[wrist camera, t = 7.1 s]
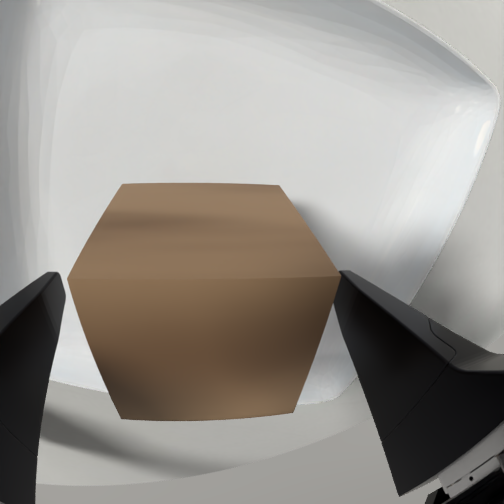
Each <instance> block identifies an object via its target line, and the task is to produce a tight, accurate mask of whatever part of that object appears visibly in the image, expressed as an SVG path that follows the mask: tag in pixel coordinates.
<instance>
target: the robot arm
mask: <svg viewBox="0 0 504 504" xmlns="http://www.w3.org/2000/svg"><path fill="white" fill-rule="evenodd" d="M338 272H339V273H340V275H341V279H340V282H339V285H338V289H337V292H336V295H335V298H334V302H333V305H334V308H335V312H336V315H337V319H338V323H339V326H340V330H341V333H342V336H343V339H344V341H345V344H346V346H347V349H348V352H349V354H350V357H351V359H352V362H353V365H354V367H355V370H356V372H357V375H358V378H359V380H360V383H361V386H362V389H363V391H364V394H365V397H366V399H367V402H368V405H369V408H370V411H371V413H372V416H373V419H374V422H375V425H376V428H377V430H378V434H379V436H380V439H381V441H382V446H383V448H384V452H385V455H386V458H387V461H388V464H389V467H390V470H391V473H392V477H393V480H394V483H395V486H396V489H397V493H398V495H399V497H400V496H402V495H405V494H407V493H409V492H411V491H413V490H415V489H418V488H420V487H422V486H424V485H426V484H428V483H430V482H431V481H433V480H435V479H437V478H439V480H440V483H441V485H442V487H441V488H439V489H437V490H436V491H434V492H432V493H431V494H429V495H428V497H427V499H426V502H425V504H504V354H496V353H492V352H489V351H487V350H485V349H483V348H481V347H480V346H478V345H476V344H474V343H472V342H470V341H468V340H467V339H465V338H463V337H461V336H459V335H457V334H456V333H454V332H452V331H450V330H449V329H447V328H445V327H444V326H442V325H440V324H439V323H437V322H435V321H434V320H432V319H430V318H428V317H427V316H425V315H424V314H422V313H421V312H419V311H417V310H416V309H414V308H412V307H411V306H409V305H407V304H406V303H404V302H403V301H401V300H399V299H398V298H396V297H394V296H393V295H391V294H389V293H388V292H386V291H384V290H383V289H381V288H379V287H377V286H376V285H374V284H372V283H371V282H369V281H367V280H366V279H364V278H362V277H361V276H359V275H357V274H355V273H354V272H352V271H350V270H339V271H338ZM65 301H66V293H65V289H64V286H63V282H62V279H61V275H60V273H59V272H46V273H45V274H43V275H42V276H40V277H39V278H37V279H36V280H35V281H33V282H32V283H30V284H29V285H27V286H26V287H25V288H23V289H22V290H20V291H19V292H18V293H16V294H15V295H13V296H12V297H11V298H9V299H8V300H7V301H5V302H4V303H3V304H1V305H0V504H35V489H36V471H37V456H38V446H39V438H40V430H41V423H42V416H43V410H44V404H45V398H46V393H47V388H48V383H49V378H50V373H51V369H52V365H53V360H54V356H55V352H56V348H57V344H58V340H59V335H60V329H61V323H62V317H63V311H64V306H65Z"/></svg>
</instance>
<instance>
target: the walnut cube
mask: <svg viewBox="0 0 504 504" xmlns="http://www.w3.org/2000/svg"><path fill="white" fill-rule="evenodd" d="M340 279H341V275H340V273H339V272H338V270H337V269H336V267H335V265H334V264H333V262H332V261H331V259H330V258H329V256H328V255H327V253H326V252H325V250H324V249H323V247H322V246H321V244H320V243H319V241H318V240H317V238H316V237H315V236H314V234H313V233H312V231H311V230H310V228H309V227H308V225H307V224H306V222H305V221H304V219H303V218H302V217H301V215H300V214H299V212H298V211H297V209H296V208H295V207H294V205H293V204H292V202H291V201H290V200H289V198H288V197H287V195H286V194H285V193H284V191H283V190H282V188H281V187H280V186H279V185H266V184H238V183H131V184H122V185H121V186H120V188H119V189H118V191H117V192H116V194H115V195H114V197H113V199H112V200H111V202H110V203H109V205H108V207H107V208H106V210H105V211H104V213H103V215H102V216H101V218H100V220H99V221H98V223H97V225H96V226H95V228H94V230H93V231H92V233H91V235H90V237H89V238H88V240H87V242H86V244H85V245H84V247H83V249H82V251H81V253H80V254H79V256H78V258H77V260H76V262H75V264H74V266H73V268H72V269H71V271H70V273H69V275H68V277H67V281H68V285H69V288H70V292H71V295H72V298H73V301H74V305H75V308H76V311H77V314H78V317H79V320H80V323H81V326H82V329H83V331H84V334H85V337H86V340H87V342H88V345H89V348H90V350H91V353H92V355H93V358H94V360H95V363H96V365H97V367H98V370H99V372H100V375H101V377H102V379H103V381H104V384H105V386H106V388H107V390H108V392H109V395H110V397H111V399H112V401H113V403H114V405H115V407H116V409H117V411H118V413H119V415H120V417H121V419H129V420H149V421H205V420H226V419H241V418H253V417H263V416H272V415H280V414H288V413H293V412H294V409H295V407H296V405H297V402H298V400H299V397H300V395H301V392H302V390H303V387H304V384H305V382H306V379H307V377H308V374H309V371H310V369H311V366H312V363H313V360H314V358H315V355H316V352H317V349H318V346H319V344H320V341H321V338H322V335H323V332H324V329H325V326H326V323H327V320H328V317H329V314H330V311H331V308H332V305H333V302H334V298H335V295H336V292H337V289H338V285H339V282H340Z"/></svg>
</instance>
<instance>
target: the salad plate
mask: <svg viewBox="0 0 504 504" xmlns="http://www.w3.org/2000/svg"><path fill="white" fill-rule="evenodd" d="M500 106H501V97H500V93H499V90H498V89H497V87H496V85H495V84H494V83H493V82H492V81H491V80H490V79H489V78H488V77H487V76H486V75H485V74H484V73H483V72H482V71H481V70H480V69H479V68H478V67H476V66H475V65H474V64H473V63H472V62H471V61H470V60H469V59H467V58H466V57H465V56H464V55H462V54H461V53H460V52H459V51H457V50H456V49H455V48H454V47H452V46H451V45H450V44H448V43H447V42H446V41H444V40H443V39H441V38H440V37H439V36H437V35H436V34H434V33H433V32H432V31H430V30H429V29H427V28H426V27H424V26H423V25H421V24H420V23H418V22H417V21H415V20H413V19H412V18H410V17H409V16H407V15H405V14H404V13H402V12H400V11H399V10H397V9H395V8H394V7H392V6H390V5H388V4H387V3H385V2H383V1H381V0H0V305H1V304H3V303H4V302H5V301H7V300H8V299H9V298H11V297H12V296H13V295H15V294H16V293H18V292H19V291H20V290H22V289H23V288H25V287H26V286H27V285H29V284H30V283H32V282H33V281H35V280H36V279H37V278H39V277H40V276H42V275H43V274H45V273H46V272H59V273H60V275H61V279H62V282H63V286H64V289H65V293H66V301H65V306H64V311H63V317H62V323H61V329H60V335H59V340H58V344H57V348H56V352H55V356H54V360H53V365H52V369H51V373H50V378H49V380H52V381H56V382H60V383H64V384H68V385H72V386H77V387H81V388H86V389H90V390H95V391H100V392H106V393H109V392H108V390H107V388H106V386H105V384H104V381H103V379H102V377H101V375H100V372H99V370H98V367H97V365H96V363H95V360H94V358H93V355H92V353H91V350H90V348H89V345H88V342H87V340H86V337H85V334H84V331H83V329H82V326H81V323H80V320H79V317H78V314H77V311H76V308H75V305H74V301H73V298H72V295H71V292H70V288H69V285H68V281H67V277H68V275H69V273H70V271H71V269H72V268H73V266H74V264H75V262H76V260H77V258H78V256H79V254H80V253H81V251H82V249H83V247H84V245H85V244H86V242H87V240H88V238H89V237H90V235H91V233H92V231H93V230H94V228H95V226H96V225H97V223H98V221H99V220H100V218H101V216H102V215H103V213H104V211H105V210H106V208H107V207H108V205H109V203H110V202H111V200H112V199H113V197H114V195H115V194H116V192H117V191H118V189H119V188H120V186H121V185H122V184H131V183H238V184H266V185H279V186H280V187H281V188H282V190H283V191H284V193H285V194H286V195H287V197H288V198H289V200H290V201H291V202H292V204H293V205H294V207H295V208H296V209H297V211H298V212H299V214H300V215H301V217H302V218H303V219H304V221H305V222H306V224H307V225H308V227H309V228H310V230H311V231H312V233H313V234H314V236H315V237H316V238H317V240H318V241H319V243H320V244H321V246H322V247H323V249H324V250H325V252H326V253H327V255H328V256H329V258H330V259H331V261H332V262H333V264H334V265H335V267H336V269H337V270H338V271H339V270H350V271H352V272H354V273H355V274H357V275H359V276H361V277H362V278H364V279H366V280H367V281H369V282H371V283H372V284H374V285H376V286H377V287H379V288H381V289H383V290H384V291H386V292H388V293H389V294H391V295H393V296H394V297H396V298H398V299H399V300H401V301H403V302H404V303H406V304H407V305H410V303H411V302H412V300H413V298H414V297H415V295H416V294H417V292H418V290H419V289H420V287H421V285H422V284H423V282H424V281H425V279H426V277H427V276H428V274H429V272H430V270H431V269H432V267H433V265H434V264H435V262H436V260H437V258H438V257H439V255H440V253H441V251H442V249H443V247H444V245H445V244H446V242H447V240H448V238H449V236H450V234H451V232H452V230H453V228H454V226H455V224H456V222H457V220H458V218H459V216H460V214H461V211H462V209H463V207H464V205H465V203H466V201H467V199H468V196H469V194H470V192H471V189H472V187H473V184H474V182H475V180H476V177H477V175H478V173H479V170H480V167H481V165H482V162H483V159H484V157H485V154H486V151H487V149H488V146H489V143H490V140H491V137H492V134H493V131H494V128H495V125H496V122H497V118H498V115H499V111H500ZM357 376H358V375H357V372H356V370H355V367H354V365H353V362H352V359H351V357H350V354H349V352H348V349H347V346H346V344H345V341H344V339H343V336H342V333H341V330H340V326H339V323H338V319H337V315H336V312H335V308H334V305H332V308H331V311H330V314H329V317H328V320H327V323H326V326H325V329H324V332H323V335H322V338H321V341H320V344H319V346H318V349H317V352H316V355H315V358H314V360H313V363H312V366H311V369H310V371H309V374H308V377H307V379H306V382H305V384H304V387H303V390H302V392H301V395H300V397H299V400H298V402H297V405H305V404H315V403H322V402H327V401H331V400H333V399H336V398H338V397H339V396H340V395H341V394H342V393H343V392H344V391H345V390H346V389H347V388H348V387H349V386H350V385H351V384H352V382H353V381H354V380H355V379H356V378H357Z"/></svg>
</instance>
